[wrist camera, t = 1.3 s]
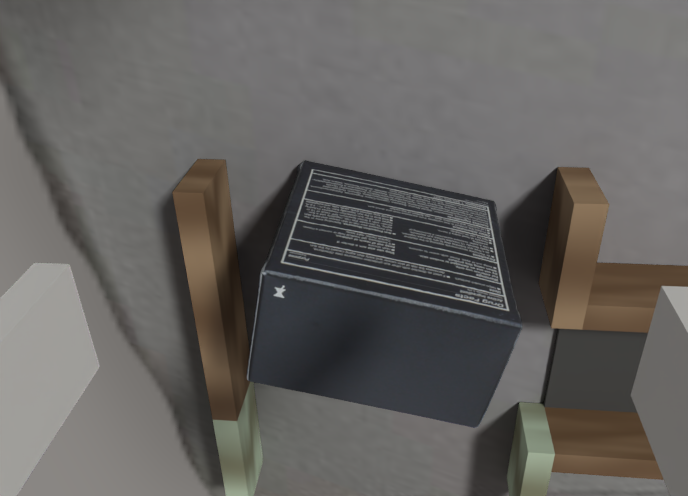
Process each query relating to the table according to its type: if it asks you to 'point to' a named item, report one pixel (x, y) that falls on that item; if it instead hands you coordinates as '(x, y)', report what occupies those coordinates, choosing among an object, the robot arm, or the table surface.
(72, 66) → the table surface
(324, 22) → the table surface
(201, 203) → the wooden frame pieces
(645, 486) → the table surface
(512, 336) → the small box
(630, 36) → the table surface
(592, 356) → the mat
